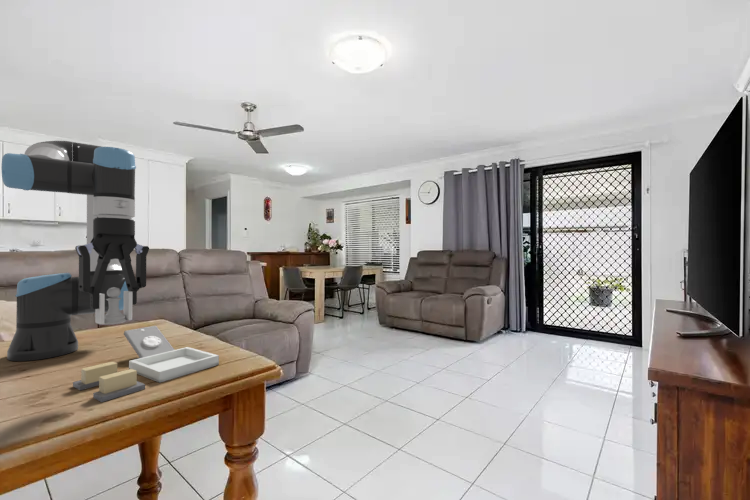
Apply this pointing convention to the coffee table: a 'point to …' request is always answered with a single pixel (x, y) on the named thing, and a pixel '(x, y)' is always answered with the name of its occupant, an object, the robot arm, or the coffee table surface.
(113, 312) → the chess piece
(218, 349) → the coffee table surface
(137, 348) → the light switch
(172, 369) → the parts tray
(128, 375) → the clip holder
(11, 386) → the coffee table surface
